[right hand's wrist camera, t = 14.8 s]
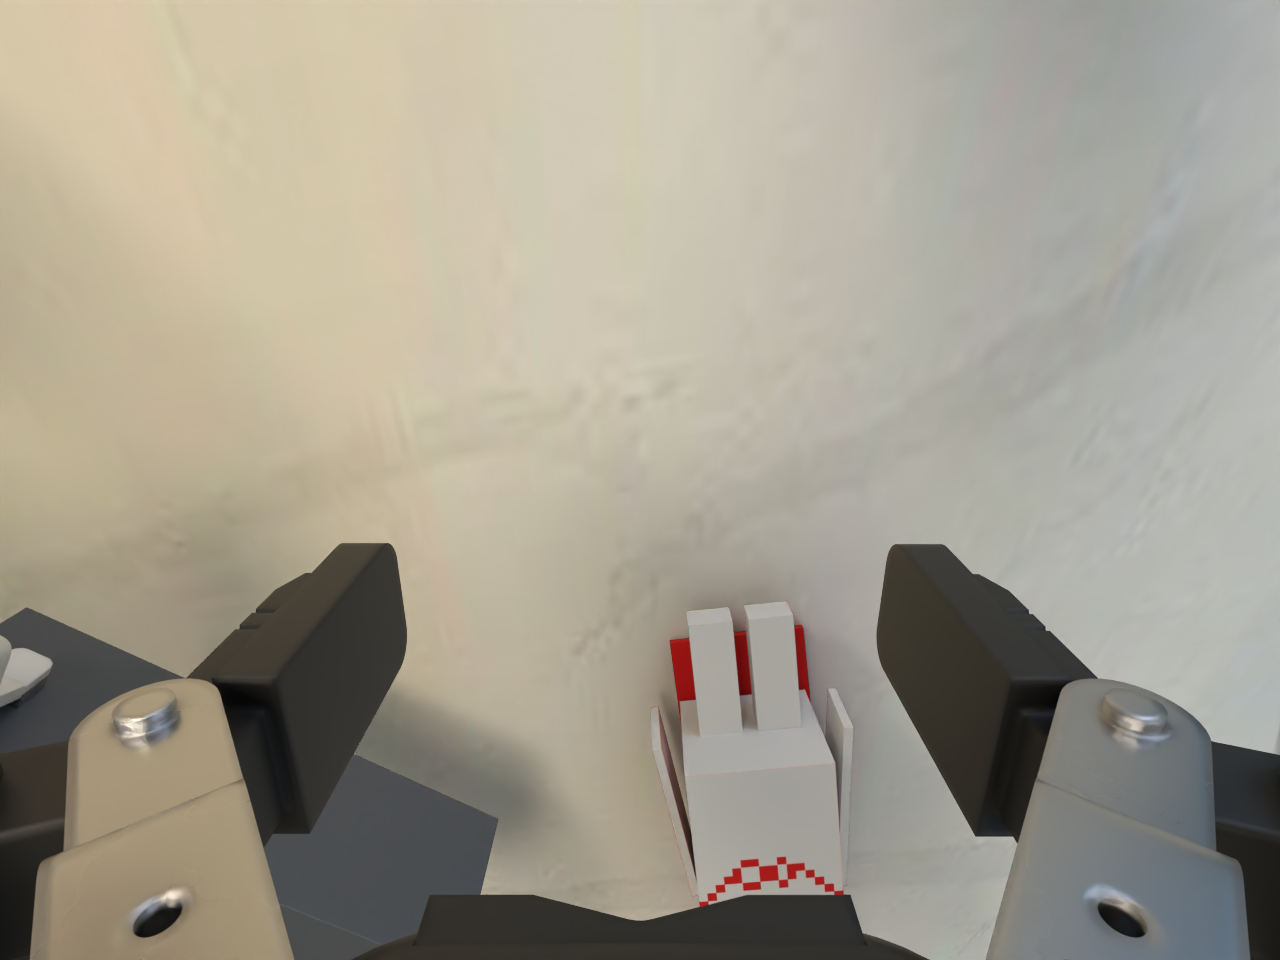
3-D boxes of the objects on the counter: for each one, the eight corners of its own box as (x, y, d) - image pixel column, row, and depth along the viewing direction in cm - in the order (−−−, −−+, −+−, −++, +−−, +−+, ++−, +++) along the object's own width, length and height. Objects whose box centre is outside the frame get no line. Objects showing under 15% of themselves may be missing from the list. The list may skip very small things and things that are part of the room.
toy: (862, 645, 36) (884, 1086, 42) (807, 561, 49) (830, 907, 55) (635, 667, 36) (691, 1099, 43) (640, 578, 50) (682, 919, 56)
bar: (498, 818, 39) (461, 976, 31) (460, 872, 40) (414, 1036, 32) (26, 606, 34) (-167, 727, 26) (2, 676, 35) (-188, 811, 27)
